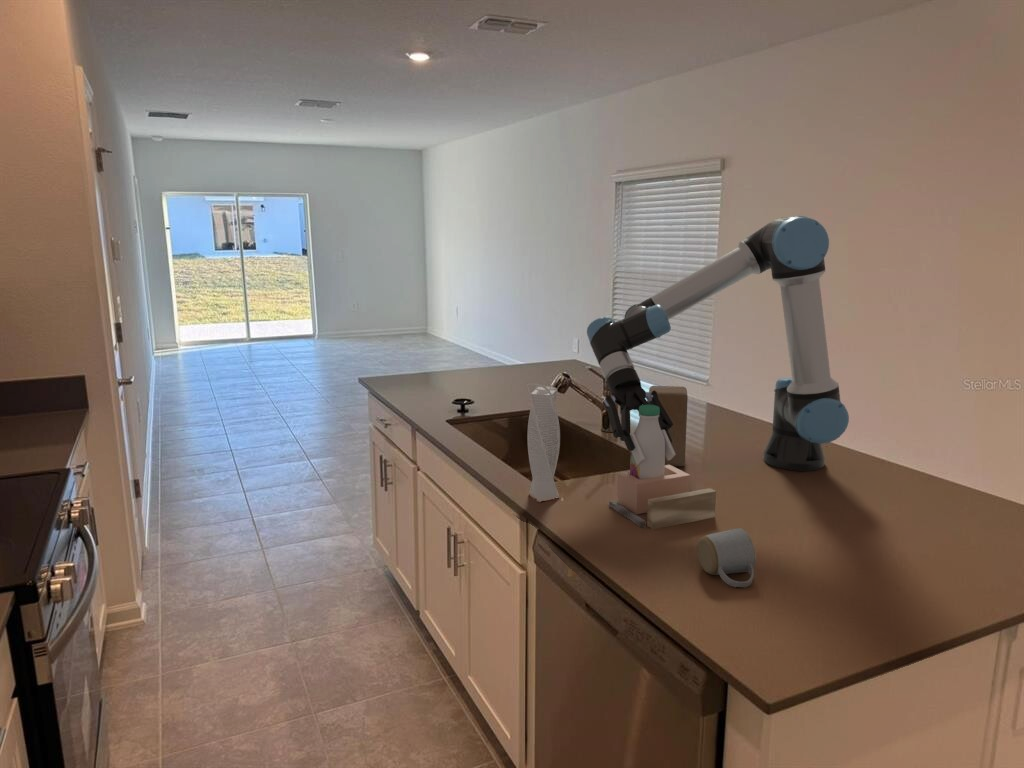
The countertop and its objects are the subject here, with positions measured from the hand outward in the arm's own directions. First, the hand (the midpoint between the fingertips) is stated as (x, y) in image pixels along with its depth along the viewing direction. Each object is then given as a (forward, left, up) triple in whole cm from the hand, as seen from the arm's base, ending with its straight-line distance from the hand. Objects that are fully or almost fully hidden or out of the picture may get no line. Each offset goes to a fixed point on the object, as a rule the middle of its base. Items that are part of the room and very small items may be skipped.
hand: (656, 459), depth 154 cm
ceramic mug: (-21, +25, -12) cm, 35 cm away
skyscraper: (+26, +5, -12) cm, 28 cm away
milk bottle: (+3, -2, -9) cm, 9 cm away
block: (+7, -34, -12) cm, 36 cm away
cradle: (+1, -2, -11) cm, 11 cm away
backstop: (-2, +1, -11) cm, 12 cm away
